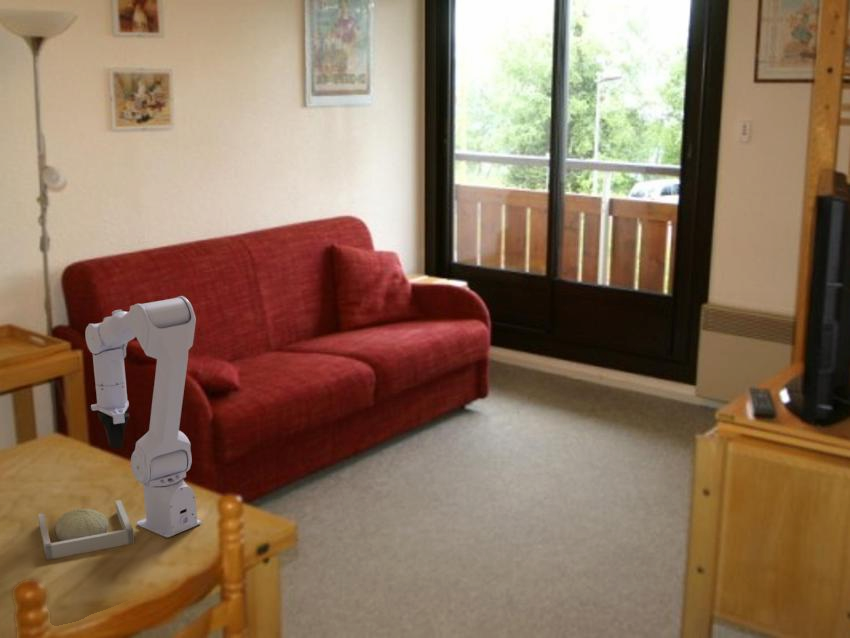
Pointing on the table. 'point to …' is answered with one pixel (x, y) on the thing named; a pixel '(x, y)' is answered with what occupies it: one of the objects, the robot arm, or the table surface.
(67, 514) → the sea urchin shell
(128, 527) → the grey u-shaped bracket
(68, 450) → the table surface
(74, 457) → the table surface
